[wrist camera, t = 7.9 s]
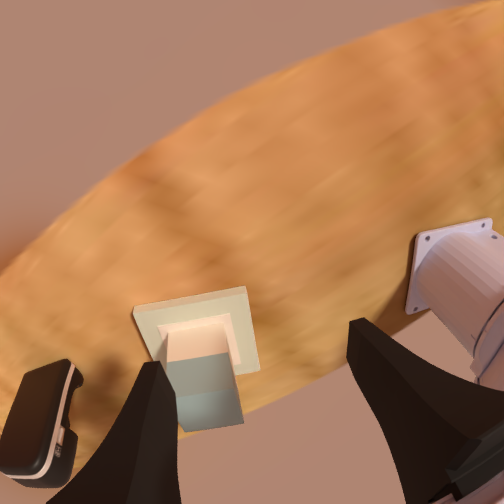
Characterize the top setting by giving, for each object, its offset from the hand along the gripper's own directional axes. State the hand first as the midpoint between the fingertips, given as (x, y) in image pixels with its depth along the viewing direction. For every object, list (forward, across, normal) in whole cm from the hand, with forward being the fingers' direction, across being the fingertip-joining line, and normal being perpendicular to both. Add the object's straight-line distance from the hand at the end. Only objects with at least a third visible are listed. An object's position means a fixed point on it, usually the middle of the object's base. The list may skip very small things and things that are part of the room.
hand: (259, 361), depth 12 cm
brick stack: (+9, +4, +8) cm, 13 cm away
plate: (+10, +4, +8) cm, 13 cm away
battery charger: (+11, +18, +10) cm, 23 cm away
